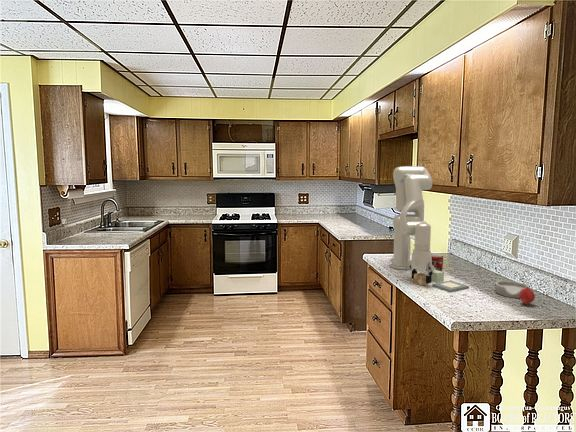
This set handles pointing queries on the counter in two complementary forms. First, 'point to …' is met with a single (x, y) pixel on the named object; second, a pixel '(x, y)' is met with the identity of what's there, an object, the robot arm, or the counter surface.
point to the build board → (450, 286)
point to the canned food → (437, 261)
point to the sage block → (437, 276)
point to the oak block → (420, 279)
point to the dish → (509, 288)
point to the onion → (527, 295)
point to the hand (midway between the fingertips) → (421, 280)
